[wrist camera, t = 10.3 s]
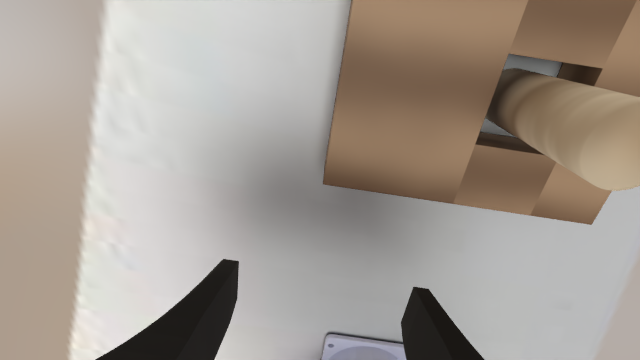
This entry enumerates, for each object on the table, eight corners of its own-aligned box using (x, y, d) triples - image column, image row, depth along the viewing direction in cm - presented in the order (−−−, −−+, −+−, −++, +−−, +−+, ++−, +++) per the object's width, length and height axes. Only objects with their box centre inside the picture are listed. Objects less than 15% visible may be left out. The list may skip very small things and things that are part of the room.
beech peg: (522, 126, 20) (650, 196, 12) (471, 119, 20) (564, 183, 12) (545, 72, 19) (708, 109, 10) (490, 64, 18) (611, 94, 10)
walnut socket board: (560, 199, 22) (591, 224, 19) (324, 164, 22) (323, 184, 19) (667, -3, 17) (730, -8, 14) (359, -52, 16) (364, -68, 14)
